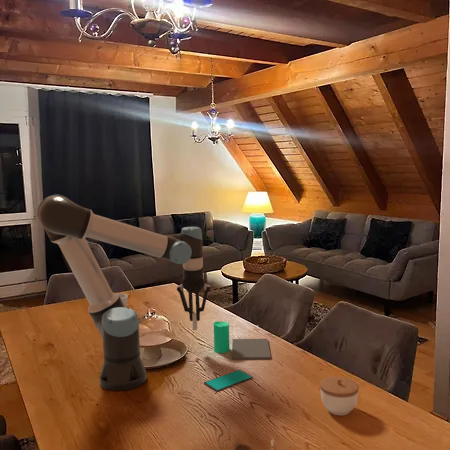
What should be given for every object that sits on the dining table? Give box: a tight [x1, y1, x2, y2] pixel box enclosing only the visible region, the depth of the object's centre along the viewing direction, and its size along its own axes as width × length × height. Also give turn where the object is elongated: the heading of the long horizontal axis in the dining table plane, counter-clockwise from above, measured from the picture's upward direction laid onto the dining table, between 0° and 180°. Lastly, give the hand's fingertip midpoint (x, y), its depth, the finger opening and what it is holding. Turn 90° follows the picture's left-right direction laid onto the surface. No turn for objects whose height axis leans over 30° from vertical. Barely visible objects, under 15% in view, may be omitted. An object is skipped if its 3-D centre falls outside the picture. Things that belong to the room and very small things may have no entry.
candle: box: [213, 320, 231, 354], centre depth 182 cm, size 6×6×12 cm
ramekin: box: [117, 293, 129, 308], centre depth 235 cm, size 13×13×7 cm
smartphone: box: [203, 369, 254, 393], centre depth 157 cm, size 7×1×15 cm
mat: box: [231, 338, 272, 360], centre depth 183 cm, size 18×14×1 cm
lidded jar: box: [319, 376, 360, 417], centre depth 137 cm, size 11×11×9 cm
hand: (195, 328), depth 182 cm, fingers closed
